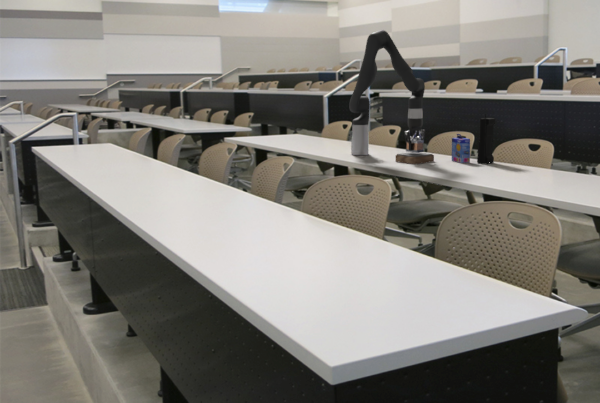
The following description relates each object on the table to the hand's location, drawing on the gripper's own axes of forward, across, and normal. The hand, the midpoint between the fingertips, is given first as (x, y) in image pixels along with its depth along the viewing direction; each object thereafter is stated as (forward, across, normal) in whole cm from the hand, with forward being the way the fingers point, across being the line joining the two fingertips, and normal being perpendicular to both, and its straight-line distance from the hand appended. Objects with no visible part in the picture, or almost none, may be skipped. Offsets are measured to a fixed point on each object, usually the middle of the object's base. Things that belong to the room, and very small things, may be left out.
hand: (414, 149), depth 335 cm
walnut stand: (+6, 0, 0) cm, 6 cm away
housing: (+1, 0, 0) cm, 1 cm away
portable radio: (+6, +21, -29) cm, 36 cm away
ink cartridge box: (+6, +16, -17) cm, 24 cm away
